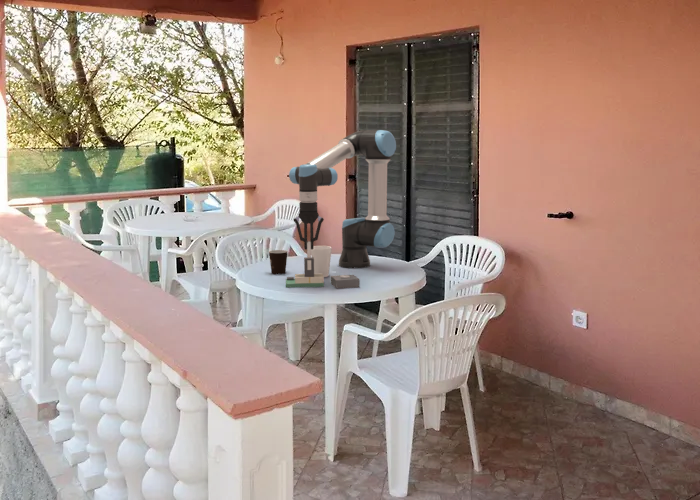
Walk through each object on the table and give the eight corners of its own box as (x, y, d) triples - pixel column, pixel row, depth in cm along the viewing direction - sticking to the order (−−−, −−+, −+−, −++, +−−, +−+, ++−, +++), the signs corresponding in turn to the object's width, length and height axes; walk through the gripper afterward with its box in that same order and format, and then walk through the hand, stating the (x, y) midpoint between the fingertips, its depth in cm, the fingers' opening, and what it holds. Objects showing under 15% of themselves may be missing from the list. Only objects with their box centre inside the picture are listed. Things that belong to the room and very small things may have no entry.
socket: (322, 279, 326) (322, 273, 325) (323, 282, 318) (323, 277, 318) (295, 279, 325) (295, 274, 324) (295, 283, 317) (295, 277, 317)
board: (322, 281, 329) (322, 276, 328) (323, 286, 318) (323, 281, 318) (285, 282, 327) (285, 276, 327) (285, 287, 317) (285, 282, 316)
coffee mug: (284, 275, 343) (284, 253, 341) (266, 274, 345) (266, 252, 343) (291, 270, 354) (291, 249, 352) (274, 269, 356) (273, 248, 354)
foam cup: (324, 278, 335) (323, 249, 333) (307, 276, 340) (306, 248, 337) (335, 275, 343) (335, 246, 340) (318, 273, 347) (318, 245, 345)
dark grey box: (353, 282, 326) (353, 273, 325) (359, 287, 317) (359, 277, 316) (330, 283, 324) (330, 274, 323) (336, 288, 314) (336, 279, 313)
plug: (313, 280, 324) (313, 257, 322) (314, 282, 319) (314, 259, 317) (304, 280, 323) (304, 257, 322) (304, 282, 319) (304, 259, 317)
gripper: (292, 202, 312) (293, 258, 316) (324, 202, 313) (324, 258, 317) (292, 200, 319) (293, 255, 323) (323, 200, 320) (323, 255, 324)
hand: (309, 256), depth 320 cm, fingers closed
